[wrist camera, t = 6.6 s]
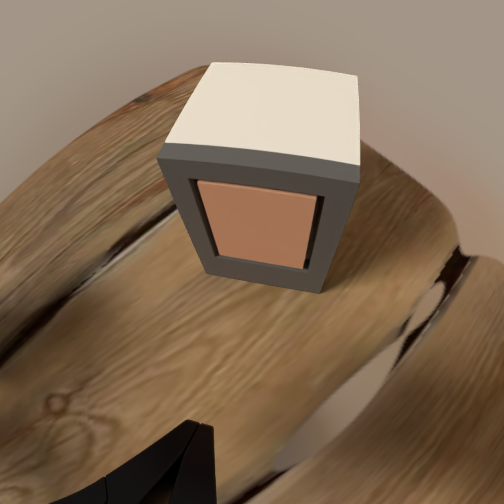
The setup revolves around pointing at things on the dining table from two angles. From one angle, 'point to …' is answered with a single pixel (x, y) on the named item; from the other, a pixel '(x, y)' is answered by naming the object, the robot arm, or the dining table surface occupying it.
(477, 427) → the dining table surface
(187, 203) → the sleeve
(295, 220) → the peg
